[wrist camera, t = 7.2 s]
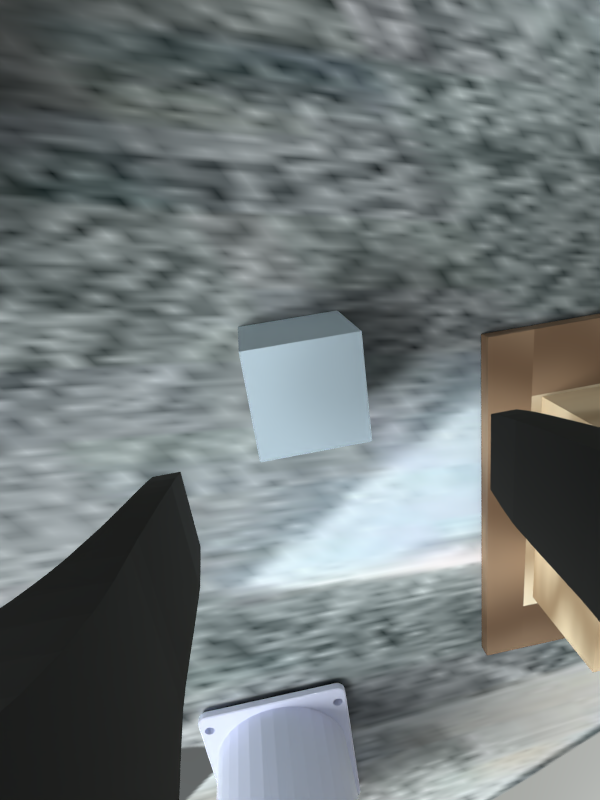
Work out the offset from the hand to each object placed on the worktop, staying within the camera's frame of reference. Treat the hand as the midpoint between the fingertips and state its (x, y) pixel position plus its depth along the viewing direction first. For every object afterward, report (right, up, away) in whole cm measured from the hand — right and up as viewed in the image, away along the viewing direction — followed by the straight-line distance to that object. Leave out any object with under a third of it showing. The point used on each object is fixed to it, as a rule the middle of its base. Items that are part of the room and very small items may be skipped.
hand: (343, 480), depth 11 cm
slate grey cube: (-1, +3, +9) cm, 10 cm away
